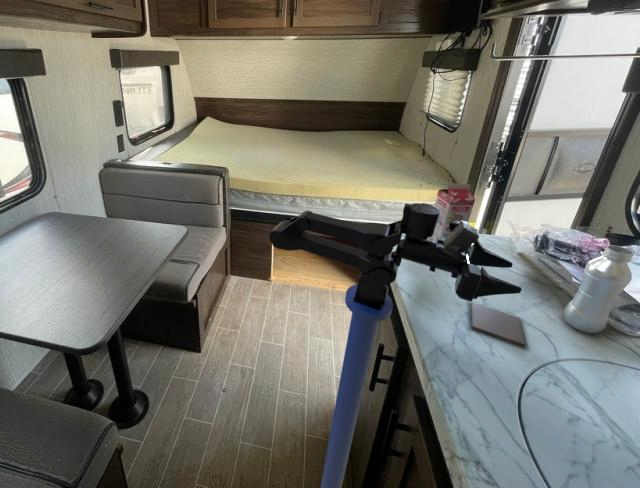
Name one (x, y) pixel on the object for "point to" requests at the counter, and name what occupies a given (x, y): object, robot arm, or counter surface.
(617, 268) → the plastic bottle
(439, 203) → the juice carton
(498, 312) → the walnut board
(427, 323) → the counter surface
